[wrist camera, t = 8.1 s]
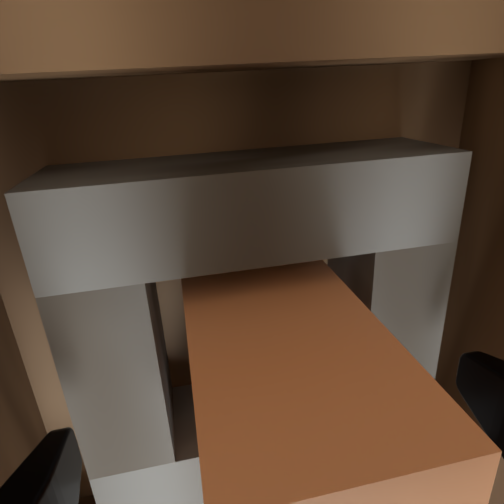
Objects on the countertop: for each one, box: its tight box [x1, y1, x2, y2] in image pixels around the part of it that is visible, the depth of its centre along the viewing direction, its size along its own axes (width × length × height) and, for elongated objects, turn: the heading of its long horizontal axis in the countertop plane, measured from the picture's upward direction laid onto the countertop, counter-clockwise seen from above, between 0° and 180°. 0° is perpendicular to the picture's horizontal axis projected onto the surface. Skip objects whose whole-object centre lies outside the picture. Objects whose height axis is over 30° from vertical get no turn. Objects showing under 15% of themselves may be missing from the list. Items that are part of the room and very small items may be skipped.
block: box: [181, 260, 502, 504], centre depth 9 cm, size 4×4×8 cm
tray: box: [0, 0, 504, 504], centre depth 12 cm, size 16×16×4 cm
